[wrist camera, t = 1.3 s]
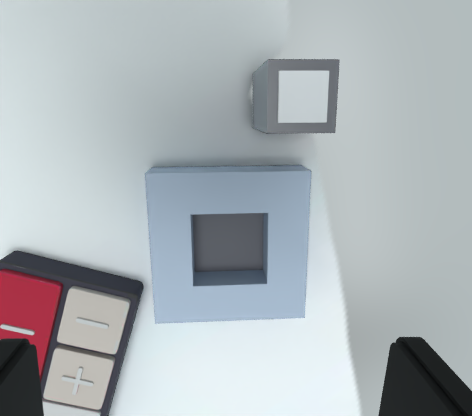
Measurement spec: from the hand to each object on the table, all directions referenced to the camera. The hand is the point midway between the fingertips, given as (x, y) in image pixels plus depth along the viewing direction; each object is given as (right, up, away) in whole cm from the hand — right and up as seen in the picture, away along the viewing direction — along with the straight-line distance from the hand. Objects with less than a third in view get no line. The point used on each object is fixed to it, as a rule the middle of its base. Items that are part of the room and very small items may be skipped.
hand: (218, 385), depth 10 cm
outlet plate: (0, +2, +22) cm, 22 cm away
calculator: (-15, -7, +24) cm, 29 cm away
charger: (+4, +13, +19) cm, 23 cm away
